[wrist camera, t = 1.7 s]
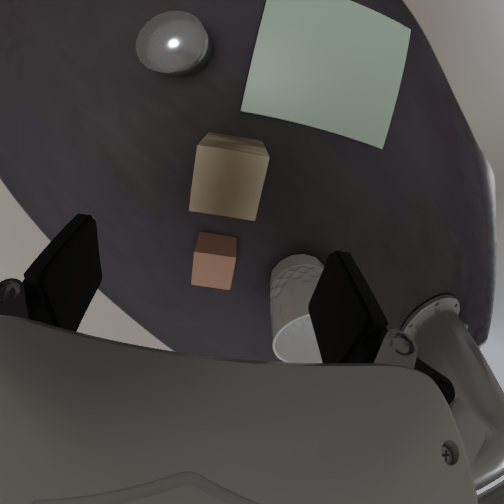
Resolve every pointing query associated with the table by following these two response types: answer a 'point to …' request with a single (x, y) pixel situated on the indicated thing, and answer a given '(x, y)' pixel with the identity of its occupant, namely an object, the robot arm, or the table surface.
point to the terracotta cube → (214, 260)
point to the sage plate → (328, 67)
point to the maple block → (228, 176)
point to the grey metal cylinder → (174, 44)
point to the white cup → (294, 308)
